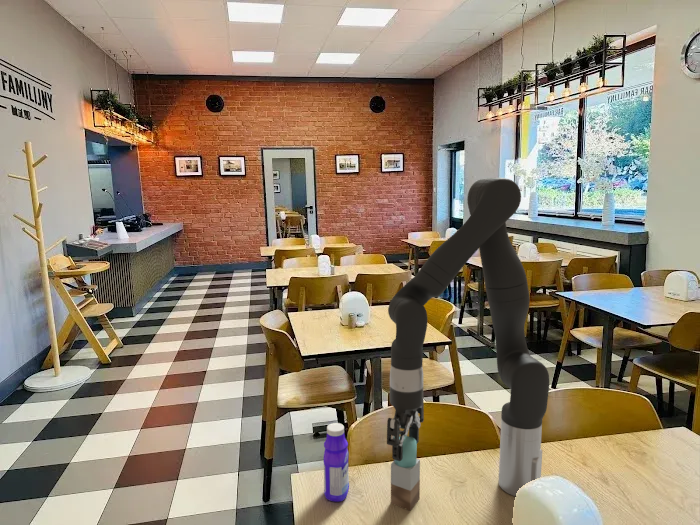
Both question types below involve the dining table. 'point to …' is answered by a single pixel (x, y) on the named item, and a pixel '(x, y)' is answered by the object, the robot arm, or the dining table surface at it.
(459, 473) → the dining table surface
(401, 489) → the base block
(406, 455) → the teal rounded cylinder
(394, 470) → the mid block
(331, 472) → the bottle
